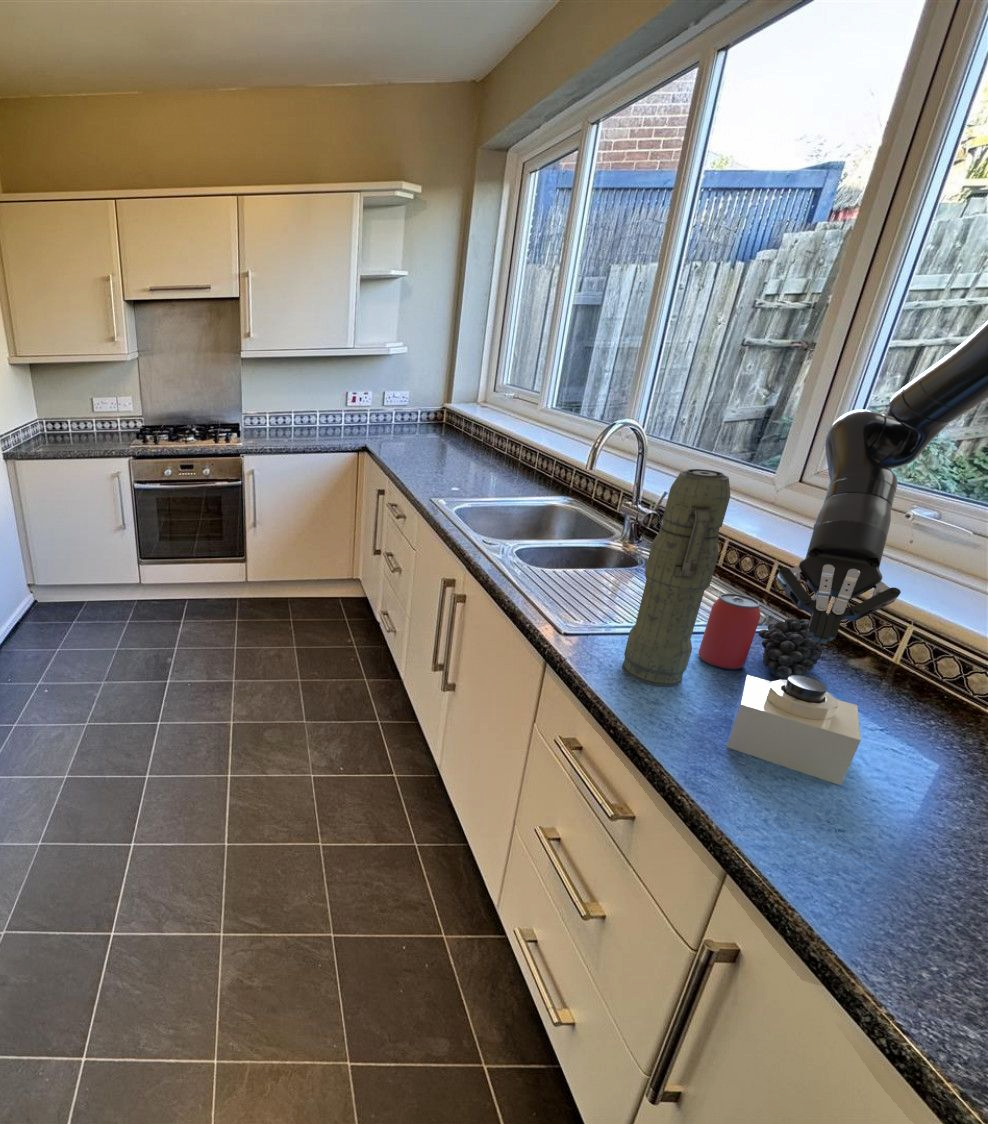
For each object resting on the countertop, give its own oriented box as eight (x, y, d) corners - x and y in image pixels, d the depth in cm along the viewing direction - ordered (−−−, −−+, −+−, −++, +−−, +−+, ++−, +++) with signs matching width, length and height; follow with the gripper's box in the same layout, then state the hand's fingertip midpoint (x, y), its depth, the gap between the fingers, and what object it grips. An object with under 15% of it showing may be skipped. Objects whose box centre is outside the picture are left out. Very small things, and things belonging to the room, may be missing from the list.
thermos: (670, 660, 109) (724, 465, 96) (692, 696, 99) (756, 483, 86) (614, 652, 112) (659, 462, 99) (629, 686, 102) (682, 479, 89)
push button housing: (839, 748, 86) (862, 693, 83) (841, 786, 80) (866, 728, 76) (733, 715, 94) (750, 664, 91) (726, 747, 87) (744, 693, 84)
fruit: (813, 643, 96) (822, 611, 105) (745, 641, 102) (759, 611, 112) (819, 695, 97) (827, 658, 107) (752, 690, 103) (765, 655, 113)
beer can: (738, 656, 110) (757, 595, 106) (748, 674, 105) (769, 611, 100) (693, 649, 113) (711, 589, 108) (701, 666, 107) (720, 604, 103)
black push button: (821, 695, 84) (827, 682, 83) (822, 708, 81) (827, 694, 80) (783, 684, 86) (788, 671, 85) (782, 696, 83) (787, 684, 83)
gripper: (793, 510, 89) (762, 615, 85) (925, 528, 81) (898, 646, 77) (784, 536, 94) (754, 635, 90) (906, 555, 86) (879, 666, 82)
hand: (820, 640), depth 83 cm, fingers closed
